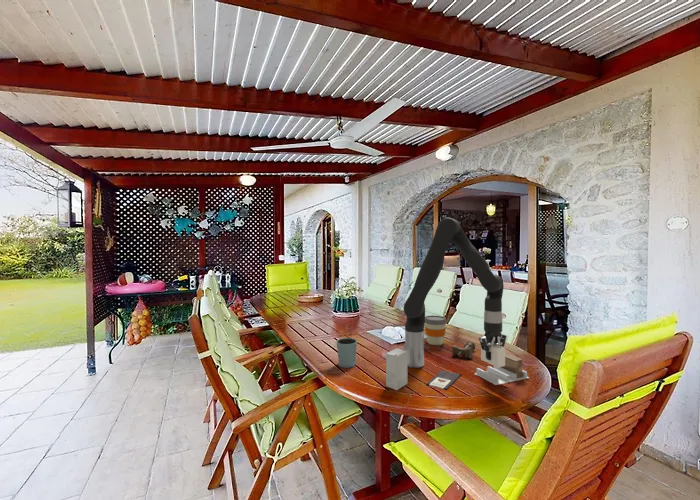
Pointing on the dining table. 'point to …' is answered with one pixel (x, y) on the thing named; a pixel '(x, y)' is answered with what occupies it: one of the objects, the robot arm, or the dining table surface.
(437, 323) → the reusable coffee cup
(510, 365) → the brown rectangular block
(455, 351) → the kendama
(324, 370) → the dining table surface
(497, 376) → the dish rack
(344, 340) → the grey cup
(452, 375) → the chocolate bar
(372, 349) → the dining table surface
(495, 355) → the cream rectangular block
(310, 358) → the dining table surface
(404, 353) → the skincare box
